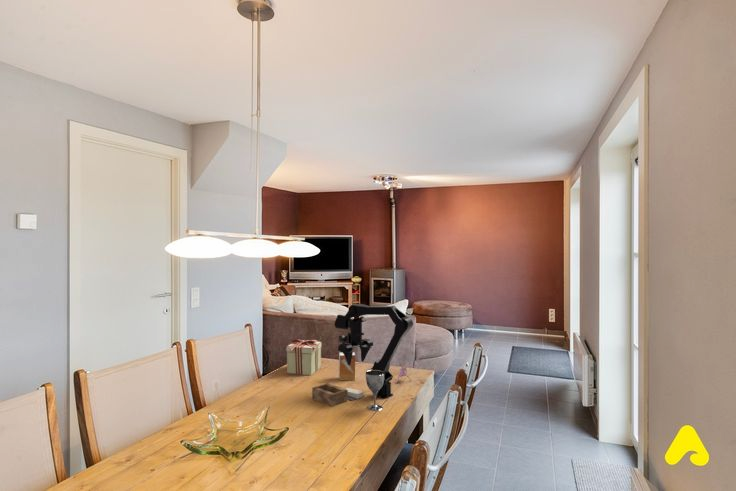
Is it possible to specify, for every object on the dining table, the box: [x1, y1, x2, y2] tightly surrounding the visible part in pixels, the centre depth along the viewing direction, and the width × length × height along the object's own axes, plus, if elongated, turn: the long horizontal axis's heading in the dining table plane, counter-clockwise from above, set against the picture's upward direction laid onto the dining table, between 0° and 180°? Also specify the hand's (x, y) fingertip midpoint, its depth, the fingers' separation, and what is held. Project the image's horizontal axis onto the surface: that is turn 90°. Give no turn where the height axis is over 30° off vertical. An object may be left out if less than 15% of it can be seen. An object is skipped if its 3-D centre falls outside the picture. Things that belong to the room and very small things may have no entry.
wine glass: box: [365, 369, 384, 412], centre depth 181 cm, size 8×8×15 cm
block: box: [345, 387, 364, 400], centre depth 195 cm, size 9×4×2 cm, turn 54°
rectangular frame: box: [311, 383, 348, 407], centre depth 189 cm, size 13×9×5 cm
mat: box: [347, 394, 365, 402], centre depth 194 cm, size 8×8×1 cm
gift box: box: [285, 338, 323, 376], centre depth 233 cm, size 17×18×17 cm
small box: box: [338, 351, 356, 381], centre depth 220 cm, size 8×6×13 cm
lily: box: [395, 362, 412, 384], centre depth 217 cm, size 12×12×10 cm
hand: (355, 363), depth 202 cm, fingers open, 9 cm apart
